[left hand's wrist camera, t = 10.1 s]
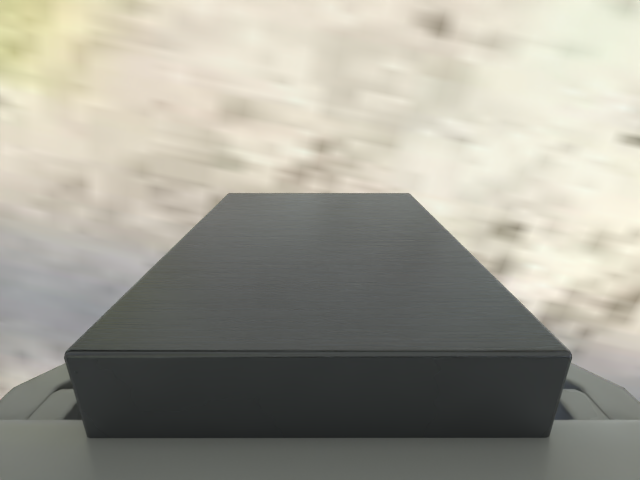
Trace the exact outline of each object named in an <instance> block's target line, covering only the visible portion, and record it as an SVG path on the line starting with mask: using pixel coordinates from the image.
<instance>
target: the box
mask: <svg viewBox="0 0 640 480" xmlns="http://www.w3.org/2000/svg"><path fill="white" fill-rule="evenodd" d="M64 359H65V363H66V366H67V370H68V373H69V376H70V380H71V383H72V387H73V390H74V394H75V397H76V401H77V404H78V407H79V411H80V414H81V418H82V421H83V425H84V428H85V432H86V435H87V437H88V438H547V437H549V436H550V433H551V429H552V426H553V422H554V419H555V415H556V412H557V408H558V405H559V401H560V398H561V394H562V391H563V387H564V384H565V380H566V377H567V374H568V370H569V367H570V363H571V360H572V355H571V352H570V351H569V350H568V349H567V348H566V347H565V346H564V345H563V344H562V343H561V342H560V341H559V340H558V339H557V338H556V337H555V336H554V335H553V334H552V333H551V332H550V331H549V330H548V329H547V328H546V327H545V326H544V325H543V324H542V323H541V322H540V321H539V320H538V319H537V318H536V317H535V316H534V315H533V314H532V313H531V312H530V311H529V310H528V309H527V308H526V307H525V306H524V305H523V304H522V303H521V302H520V301H519V300H518V299H516V298H515V297H514V296H513V295H512V294H511V293H510V292H509V291H508V290H507V289H506V288H505V287H504V286H503V285H502V284H501V283H500V282H499V281H498V280H497V279H496V278H495V277H494V276H493V275H492V274H491V273H490V272H489V271H488V270H487V269H486V268H485V267H484V266H483V265H482V264H481V263H480V262H479V261H478V260H477V259H476V258H475V257H474V256H473V255H472V254H471V253H470V252H469V251H468V250H467V249H466V248H465V247H464V246H463V245H461V244H460V243H459V242H458V241H457V240H456V239H455V238H454V237H453V236H452V235H451V234H450V233H449V232H448V231H447V230H446V229H445V228H444V227H443V226H442V225H441V224H440V223H439V222H438V221H437V220H436V219H435V218H434V217H433V216H432V215H431V214H430V213H429V212H428V211H427V210H426V209H425V208H424V207H423V206H422V205H421V204H420V203H419V202H418V201H417V200H416V199H415V198H414V197H413V196H412V195H411V194H409V193H229V194H227V195H226V196H225V197H224V198H223V199H222V200H221V201H220V202H219V203H218V204H217V205H216V206H215V207H214V208H213V209H212V210H211V211H210V212H209V213H208V214H207V215H206V216H205V217H204V218H203V219H202V220H201V221H200V222H199V223H198V224H197V225H195V226H194V227H193V228H192V229H191V230H190V231H189V232H188V233H187V234H186V235H185V236H184V237H183V238H182V239H181V240H180V241H179V242H178V243H177V244H176V245H175V246H174V247H173V248H172V249H171V250H170V251H169V252H168V253H167V254H166V255H165V256H164V257H163V258H162V259H160V260H159V261H158V262H157V263H156V264H155V265H154V266H153V267H152V268H151V269H150V270H149V271H148V272H147V273H146V274H145V275H144V276H143V277H142V278H141V279H140V280H139V281H138V282H137V283H136V284H135V285H134V286H133V287H132V288H131V289H130V290H129V291H128V292H127V293H125V294H124V295H123V296H122V297H121V298H120V299H119V300H118V301H117V302H116V303H115V304H114V305H113V306H112V307H111V308H110V309H109V310H108V311H107V312H106V313H105V314H104V315H103V316H102V317H101V318H100V319H99V320H98V321H97V322H96V323H95V324H94V325H93V326H92V327H90V328H89V329H88V330H87V331H86V332H85V333H84V334H83V335H82V336H81V337H80V338H79V339H78V340H77V341H76V342H75V343H74V344H73V345H72V346H71V347H70V348H69V349H68V350H67V351H66V353H65V356H64Z"/></svg>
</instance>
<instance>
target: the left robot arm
mask: <svg viewBox="0 0 640 480" xmlns="http://www.w3.org/2000/svg"><path fill="white" fill-rule="evenodd" d="M0 480H640V402H639V401H638V400H637V399H635V398H634V397H633V396H632V395H631V394H630V393H629V392H628V391H627V390H626V389H625V388H623V387H621V386H619V385H617V384H615V383H613V382H610V381H608V380H606V379H604V378H602V377H600V376H598V375H596V374H594V373H591V372H589V371H587V370H585V369H583V368H581V367H579V366H577V365H575V364H572V363H570V367H569V370H568V374H567V377H566V380H565V384H564V387H563V391H562V394H561V398H560V401H559V405H558V408H557V412H556V415H555V419H554V422H553V426H552V429H551V433H550V436H549V437H547V438H88V437H87V435H86V432H85V428H84V425H83V421H82V418H81V414H80V411H79V407H78V404H77V401H76V397H75V394H74V390H73V387H72V383H71V380H70V376H69V373H68V370H67V366H66V363H65V364H63V365H61V366H58V367H56V368H54V369H52V370H50V371H48V372H46V373H44V374H41V375H39V376H37V377H35V378H33V379H31V380H29V381H27V382H24V383H22V384H20V385H18V386H16V387H14V388H13V389H12V390H11V391H9V392H8V393H7V394H6V395H5V396H4V397H3V398H2V399H1V400H0Z"/></svg>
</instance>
